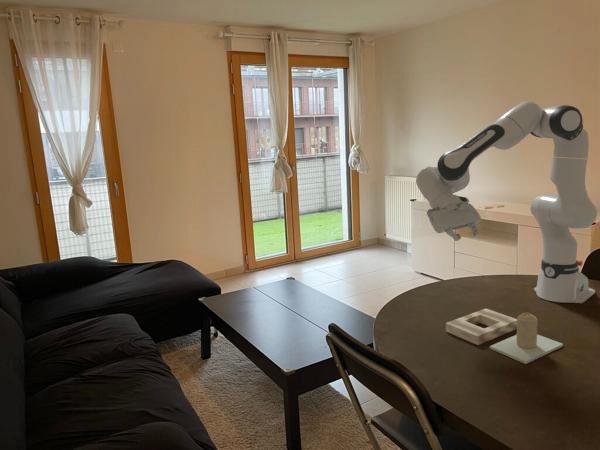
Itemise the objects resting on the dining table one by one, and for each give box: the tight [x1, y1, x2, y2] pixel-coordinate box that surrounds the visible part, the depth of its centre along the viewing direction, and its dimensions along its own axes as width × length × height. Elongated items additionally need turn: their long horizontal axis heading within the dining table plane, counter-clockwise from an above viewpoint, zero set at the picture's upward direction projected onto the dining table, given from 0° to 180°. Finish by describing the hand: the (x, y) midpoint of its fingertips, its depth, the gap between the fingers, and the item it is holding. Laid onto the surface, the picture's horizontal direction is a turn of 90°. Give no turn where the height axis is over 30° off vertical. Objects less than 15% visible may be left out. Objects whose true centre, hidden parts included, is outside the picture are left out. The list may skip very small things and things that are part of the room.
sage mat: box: [489, 333, 564, 365], centre depth 141 cm, size 18×12×1 cm, turn 120°
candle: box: [516, 311, 539, 349], centre depth 140 cm, size 6×6×10 cm
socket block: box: [445, 308, 517, 346], centre depth 155 cm, size 20×13×3 cm, turn 120°
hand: (468, 237), depth 159 cm, fingers open, 8 cm apart
